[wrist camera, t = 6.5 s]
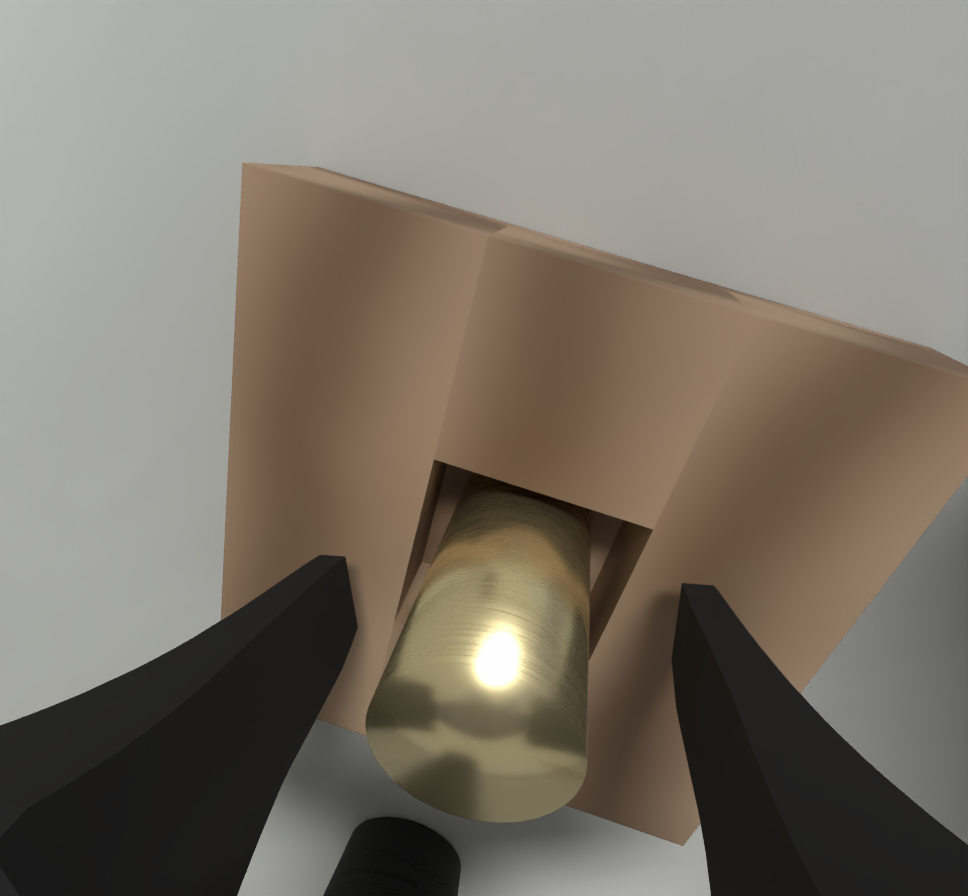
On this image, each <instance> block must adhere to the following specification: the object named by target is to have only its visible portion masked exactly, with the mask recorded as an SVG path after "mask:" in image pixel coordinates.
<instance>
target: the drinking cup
mask: <svg viewBox="0 0 968 896" xmlns="http://www.w3.org/2000/svg"><path fill="white" fill-rule="evenodd" d="M460 870H461V866H460V861H459V858H458V855H457V853H456V852H455V850H454V849H453V848H452V846H451V845H450V844H449V843H448V842H447V841H446V840H445V839H443V838H442V837H441V836H439V835H438V834H437V833H435V832H433V831H432V830H430V829H428V828H426V827H424V826H421V825H419V824H416V823H413V822H410V821H406V820H401V819H395V818H378V819H372V820H369V821H366V822H364V823H362V824H361V825H359V826H358V827H357V828H356V829H355V830H354V832H353V833H352V835H351V838H350V840H349V842H348V844H347V846H346V848H345V850H344V852H343V855H342V857H341V859H340V861H339V863H338V865H337V867H336V870H335V872H334V874H333V876H332V878H331V880H330V882H329V884H328V887H327V889H326V891H325V893H324V895H323V896H458V887H459V879H460Z"/></svg>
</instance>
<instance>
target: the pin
mask: <svg viewBox="0 0 968 896" xmlns="http://www.w3.org/2000/svg"><path fill="white" fill-rule="evenodd" d="M590 562H591V509H588V508H584V507H581V506H578V505H575V504H572V503H569V502H566V501H563V500H559V499H556V498H553V497H550V496H547V495H544V494H541V493H538V492H534V491H531V490H528V489H525V488H522V487H519V486H516V485H512V484H509V483H506V482H503V481H500V480H497V479H494V478H491V477H487V476H484V475H481V474H478V473H474V474H473V475H472V477H471V478H470V479H469V481H468V482H467V484H466V486H465V488H464V490H463V492H462V495H461V497H460V499H459V502H458V504H457V506H456V508H455V511H454V513H453V515H452V518H451V520H450V522H449V524H448V527H447V529H446V531H445V533H444V536H443V538H442V540H441V543H440V545H439V547H438V549H437V552H436V554H435V556H434V559H433V561H432V563H431V565H430V568H429V570H428V572H427V574H426V577H425V579H424V581H423V584H422V586H421V588H420V590H419V593H418V595H417V597H416V600H415V602H414V604H413V606H412V609H411V611H410V613H409V615H408V618H407V620H406V622H405V625H404V627H403V629H402V631H401V634H400V636H399V638H398V641H397V643H396V645H395V647H394V650H393V652H392V654H391V656H390V659H389V661H388V663H387V666H386V668H385V670H384V672H383V675H382V677H381V679H380V682H379V684H378V686H377V688H376V691H375V693H374V695H373V697H372V700H371V702H370V704H369V707H368V710H367V713H366V721H365V727H366V736H367V740H368V744H369V746H370V748H371V751H372V753H373V755H374V757H375V758H376V760H377V762H378V763H379V765H380V766H381V767H382V769H383V770H384V771H385V772H386V773H387V774H388V776H389V777H390V778H391V779H392V780H393V781H394V782H396V783H397V784H398V785H399V786H400V787H401V788H403V789H404V790H405V791H407V792H408V793H409V794H411V795H412V796H414V797H416V798H417V799H419V800H421V801H422V802H424V803H426V804H428V805H430V806H432V807H434V808H436V809H439V810H441V811H444V812H446V813H449V814H452V815H456V816H459V817H462V818H467V819H471V820H476V821H484V822H495V823H511V822H521V821H528V820H532V819H536V818H540V817H543V816H545V815H548V814H550V813H552V812H554V811H556V810H558V809H560V808H561V807H563V806H564V805H565V804H567V803H568V802H569V801H570V800H571V799H572V798H573V797H574V796H575V795H576V794H577V792H578V791H579V789H580V788H581V786H582V784H583V781H584V779H585V775H586V770H587V741H588V681H589V622H590Z"/></svg>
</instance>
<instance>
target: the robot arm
mask: <svg viewBox="0 0 968 896" xmlns="http://www.w3.org/2000/svg"><path fill="white" fill-rule="evenodd" d="M357 629H358V625H357V619H356V613H355V608H354V602H353V596H352V591H351V585H350V579H349V574H348V568H347V562H346V557H345V556H332V555H319V556H317V557H315V558H314V559H312V560H311V561H309V562H308V563H306V564H305V565H303V566H302V567H300V568H299V569H297V570H296V571H294V572H293V573H291V574H290V575H288V576H287V577H286V578H284V579H283V580H281V581H280V582H278V583H277V584H275V585H274V586H273V587H271V588H270V589H268V590H267V591H265V592H264V593H262V594H261V595H259V596H258V597H256V598H255V599H253V600H252V601H250V602H249V603H248V604H246V605H245V606H243V607H242V608H240V609H239V610H237V611H235V612H234V613H232V614H231V615H229V616H227V617H226V618H224V619H223V620H221V621H219V622H218V623H216V624H215V625H213V626H211V627H210V628H208V629H207V630H205V631H203V632H202V633H200V634H199V635H197V636H195V637H194V638H192V639H190V640H189V641H187V642H185V643H183V644H182V645H180V646H178V647H176V648H174V649H173V650H171V651H169V652H167V653H165V654H163V655H161V656H159V657H158V658H156V659H154V660H152V661H150V662H148V663H146V664H144V665H142V666H140V667H138V668H136V669H134V670H132V671H130V672H128V673H126V674H124V675H121V676H119V677H117V678H115V679H113V680H111V681H108V682H106V683H104V684H102V685H100V686H98V687H95V688H93V689H91V690H89V691H87V692H85V693H82V694H80V695H78V696H75V697H73V698H70V699H68V700H66V701H63V702H61V703H58V704H56V705H53V706H51V707H48V708H46V709H43V710H41V711H38V712H35V713H33V714H30V715H28V716H25V717H22V718H20V719H17V720H14V721H12V722H9V723H6V724H3V725H0V896H237V894H238V892H239V889H240V886H241V884H242V881H243V879H244V876H245V874H246V871H247V868H248V866H249V863H250V861H251V858H252V856H253V853H254V851H255V848H256V846H257V843H258V840H259V838H260V835H261V833H262V831H263V828H264V826H265V823H266V821H267V819H268V816H269V814H270V811H271V809H272V807H273V804H274V802H275V800H276V797H277V795H278V792H279V790H280V788H281V785H282V783H283V781H284V779H285V777H286V775H287V773H288V771H289V769H290V767H291V765H292V763H293V761H294V759H295V757H296V755H297V753H298V752H299V750H300V748H301V746H302V744H303V742H304V740H305V739H306V737H307V735H308V733H309V731H310V729H311V727H312V726H313V724H314V722H315V720H316V718H317V716H318V714H319V713H320V711H321V709H322V707H323V705H324V703H325V701H326V699H327V698H328V696H329V694H330V692H331V690H332V688H333V686H334V684H335V682H336V680H337V679H338V677H339V675H340V673H341V671H342V669H343V666H344V664H345V661H346V658H347V656H348V653H349V651H350V648H351V645H352V643H353V640H354V637H355V634H356V631H357ZM672 670H673V682H674V692H675V702H676V710H677V715H678V720H679V725H680V729H681V734H682V739H683V744H684V748H685V753H686V758H687V762H688V767H689V772H690V776H691V781H692V785H693V790H694V795H695V799H696V804H697V809H698V813H699V818H700V823H701V828H702V834H703V839H704V845H705V851H706V858H707V866H708V874H709V882H710V890H711V896H968V845H967V844H966V843H965V842H963V841H962V840H961V839H959V838H958V837H957V836H956V835H954V834H953V833H952V832H951V831H949V830H948V829H947V828H945V827H944V826H943V825H942V824H940V823H939V822H938V821H937V820H935V819H934V818H933V817H932V816H930V815H929V814H928V813H927V812H926V811H924V810H923V809H922V808H921V807H920V806H918V805H917V804H916V803H915V802H914V801H913V800H911V799H910V798H909V797H908V796H907V795H905V794H904V793H903V792H902V791H901V790H900V789H898V788H897V787H896V786H895V785H894V784H892V783H891V782H890V781H889V780H888V779H886V778H885V777H884V776H883V775H882V774H881V773H880V772H879V771H878V770H876V769H875V768H874V767H873V766H872V765H871V764H870V763H869V762H867V761H866V760H865V759H864V758H863V757H862V756H861V755H860V754H859V753H858V752H857V751H856V750H855V749H854V748H853V747H852V746H851V745H850V744H848V743H847V742H846V741H845V740H844V739H843V738H842V737H841V736H840V735H839V734H838V733H837V732H836V731H835V730H834V729H833V728H832V727H831V726H830V725H829V724H828V723H827V722H826V721H825V720H824V719H823V718H822V717H821V716H820V715H819V714H818V712H817V711H816V710H815V709H814V708H813V707H812V706H811V705H810V704H809V703H808V702H807V701H806V699H805V698H804V697H803V696H802V695H801V694H800V693H799V692H798V691H797V690H796V688H795V687H794V686H793V685H792V684H791V683H790V682H789V680H788V679H787V678H786V677H785V676H784V675H783V674H782V672H781V671H780V670H779V669H778V667H777V666H776V665H775V664H774V663H773V661H772V660H771V659H770V658H769V657H768V655H767V654H766V653H765V652H764V650H763V649H762V648H761V647H760V646H759V644H758V643H757V642H756V640H755V639H754V638H753V637H752V635H751V634H750V633H749V631H748V630H747V629H746V627H745V626H744V625H743V623H742V622H741V621H740V619H739V618H738V617H737V615H736V614H735V613H734V611H733V610H732V609H731V607H730V606H729V604H728V603H727V602H726V600H725V599H724V597H723V596H722V595H721V593H720V592H719V590H718V589H717V588H716V587H715V586H714V585H702V584H689V583H682V585H681V592H680V600H679V607H678V615H677V622H676V630H675V637H674V645H673V652H672Z"/></svg>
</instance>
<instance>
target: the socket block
mask: <svg viewBox="0 0 968 896" xmlns="http://www.w3.org/2000/svg"><path fill="white" fill-rule="evenodd" d="M474 473H478V474H481V475H484V476H487V477H491V478H494V479H497V480H500V481H503V482H506V483H509V484H512V485H516V486H519V487H522V488H525V489H528V490H531V491H534V492H538V493H541V494H544V495H547V496H550V497H553V498H556V499H559V500H563V501H566V502H569V503H572V504H575V505H578V506H581V507H584V508H588V509H591V562H590V622H589V681H588V741H587V770H586V775H585V779H584V781H583V784H582V786H581V788H580V789H579V791H578V792H577V794H576V795H575V796H574V797H573V798H572V799H571V800H570V801H569V802H568V803H567V804H565V805H566V806H569V807H572V808H575V809H578V810H581V811H584V812H587V813H589V814H592V815H595V816H598V817H601V818H604V819H607V820H610V821H613V822H615V823H618V824H621V825H624V826H627V827H630V828H633V829H636V830H638V831H641V832H644V833H647V834H650V835H653V836H656V837H659V838H661V839H664V840H667V841H670V842H673V843H676V844H679V845H682V846H683V845H684V844H685V843H686V841H687V840H688V839H689V838H690V836H691V835H692V834H693V832H694V831H695V830H696V828H697V827H698V826H699V825H700V818H699V813H698V809H697V804H696V799H695V795H694V790H693V785H692V781H691V776H690V772H689V767H688V762H687V758H686V753H685V748H684V744H683V739H682V734H681V729H680V725H679V720H678V715H677V710H676V702H675V692H674V682H673V670H672V652H673V645H674V637H675V630H676V622H677V615H678V607H679V600H680V592H681V585H682V583H689V584H702V585H714V586H715V587H716V588H717V589H718V590H719V592H720V593H721V595H722V596H723V597H724V599H725V600H726V602H727V603H728V604H729V606H730V607H731V609H732V610H733V611H734V613H735V614H736V615H737V617H738V618H739V619H740V621H741V622H742V623H743V625H744V626H745V627H746V629H747V630H748V631H749V633H750V634H751V635H752V637H753V638H754V639H755V640H756V642H757V643H758V644H759V646H760V647H761V648H762V649H763V650H764V652H765V653H766V654H767V655H768V657H769V658H770V659H771V660H772V661H773V663H774V664H775V665H776V666H777V667H778V669H779V670H780V671H781V672H782V674H783V675H784V676H785V677H786V678H787V679H788V680H789V682H790V683H791V684H792V685H793V686H794V687H795V688H796V690H797V691H798V692H799V693H801V692H802V690H803V689H804V688H805V687H806V685H807V684H808V683H809V681H810V680H811V679H812V677H813V676H814V675H815V674H816V672H817V671H818V670H819V668H820V667H821V666H822V664H823V663H824V662H825V660H826V659H827V658H828V657H829V655H830V654H831V653H832V651H833V650H834V649H835V647H836V646H837V645H838V644H839V642H840V641H841V640H842V638H843V637H844V636H845V634H846V633H847V632H848V631H849V629H850V628H851V627H852V625H853V624H854V623H855V621H856V620H857V619H858V618H859V616H860V615H861V614H862V612H863V611H864V610H865V608H866V607H867V606H868V604H869V603H870V602H871V601H872V599H873V598H874V597H875V595H876V594H877V593H878V591H879V590H880V589H881V588H882V586H883V585H884V584H885V582H886V581H887V580H888V578H889V577H890V576H891V575H892V573H893V572H894V571H895V569H896V568H897V567H898V565H899V564H900V563H901V562H902V560H903V559H904V558H905V556H906V555H907V554H908V552H909V551H910V550H911V548H912V547H913V546H914V545H915V543H916V542H917V541H918V539H919V538H920V537H921V535H922V534H923V533H924V532H925V530H926V529H927V528H928V526H929V525H930V524H931V522H932V521H933V520H934V519H935V517H936V516H937V515H938V513H939V512H940V511H941V509H942V508H943V507H944V506H945V504H946V503H947V502H948V500H949V499H950V498H951V496H952V495H953V494H954V493H955V491H956V490H957V489H958V487H959V486H960V485H961V483H962V482H963V481H964V479H965V478H966V477H967V476H968V366H966V365H964V364H962V363H960V362H958V361H956V360H954V359H952V358H950V357H948V356H946V355H944V354H942V353H940V352H938V351H936V350H934V349H932V348H928V347H925V346H921V345H918V344H915V343H911V342H908V341H904V340H901V339H898V338H894V337H891V336H888V335H884V334H881V333H877V332H874V331H871V330H867V329H864V328H860V327H857V326H854V325H850V324H847V323H844V322H840V321H837V320H833V319H830V318H827V317H823V316H820V315H816V314H813V313H810V312H806V311H803V310H800V309H796V308H793V307H789V306H786V305H783V304H779V303H776V302H772V301H769V300H766V299H762V298H759V297H756V296H752V295H749V294H745V293H742V292H739V291H735V290H732V289H728V288H725V287H722V286H718V285H715V284H711V283H708V282H705V281H701V280H698V279H695V278H691V277H688V276H684V275H681V274H678V273H674V272H671V271H667V270H664V269H661V268H657V267H654V266H651V265H647V264H644V263H640V262H637V261H634V260H630V259H627V258H623V257H620V256H617V255H613V254H610V253H607V252H603V251H600V250H596V249H593V248H590V247H586V246H583V245H579V244H576V243H573V242H569V241H566V240H563V239H559V238H556V237H552V236H549V235H546V234H542V233H539V232H535V231H532V230H529V229H525V228H522V227H519V226H515V225H512V224H508V223H505V222H502V221H498V220H495V219H491V218H488V217H485V216H481V215H478V214H475V213H471V212H468V211H464V210H461V209H458V208H454V207H451V206H447V205H444V204H441V203H437V202H434V201H430V200H427V199H424V198H420V197H417V196H414V195H410V194H407V193H403V192H400V191H397V190H393V189H390V188H386V187H383V186H380V185H376V184H373V183H370V182H366V181H363V180H359V179H356V178H353V177H349V176H346V175H342V174H339V173H336V172H332V171H329V170H326V169H322V168H319V167H307V166H291V165H274V164H257V163H243V164H242V185H241V206H240V227H239V248H238V269H237V290H236V311H235V333H234V354H233V375H232V396H231V417H230V438H229V459H228V480H227V501H226V522H225V543H224V564H223V585H222V607H221V620H223V619H224V618H226V617H227V616H229V615H231V614H232V613H234V612H235V611H237V610H239V609H240V608H242V607H243V606H245V605H246V604H248V603H249V602H250V601H252V600H253V599H255V598H256V597H258V596H259V595H261V594H262V593H264V592H265V591H267V590H268V589H270V588H271V587H273V586H274V585H275V584H277V583H278V582H280V581H281V580H283V579H284V578H286V577H287V576H288V575H290V574H291V573H293V572H294V571H296V570H297V569H299V568H300V567H302V566H303V565H305V564H306V563H308V562H309V561H311V560H312V559H314V558H315V557H317V556H319V555H332V556H345V557H346V562H347V568H348V574H349V579H350V585H351V591H352V596H353V602H354V608H355V613H356V619H357V625H358V629H357V631H356V634H355V637H354V640H353V643H352V645H351V648H350V651H349V653H348V656H347V658H346V661H345V664H344V666H343V669H342V671H341V673H340V675H339V677H338V679H337V680H336V682H335V684H334V686H333V688H332V690H331V692H330V694H329V696H328V698H327V699H326V701H325V703H324V705H323V707H322V709H321V711H320V713H319V714H318V716H317V718H316V719H319V720H322V721H325V722H328V723H331V724H333V725H336V726H339V727H342V728H345V729H348V730H351V731H354V732H356V733H359V734H362V735H365V736H366V727H365V721H366V713H367V710H368V707H369V704H370V702H371V700H372V697H373V695H374V693H375V691H376V688H377V686H378V684H379V682H380V679H381V677H382V675H383V672H384V670H385V668H386V666H387V663H388V661H389V659H390V656H391V654H392V652H393V650H394V647H395V645H396V643H397V641H398V638H399V636H400V634H401V631H402V629H403V627H404V625H405V622H406V620H407V618H408V615H409V613H410V611H411V609H412V606H413V604H414V602H415V600H416V597H417V595H418V593H419V590H420V588H421V586H422V584H423V581H424V579H425V577H426V574H427V572H428V570H429V568H430V565H431V563H432V561H433V559H434V556H435V554H436V552H437V549H438V547H439V545H440V543H441V540H442V538H443V536H444V533H445V531H446V529H447V527H448V524H449V522H450V520H451V518H452V515H453V513H454V511H455V508H456V506H457V504H458V502H459V499H460V497H461V495H462V492H463V490H464V488H465V486H466V484H467V482H468V481H469V479H470V478H471V477H472V475H473V474H474Z"/></svg>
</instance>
